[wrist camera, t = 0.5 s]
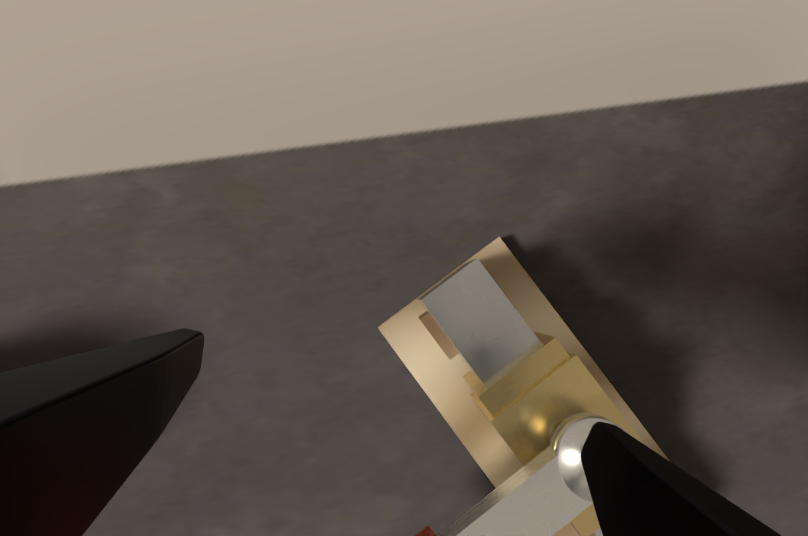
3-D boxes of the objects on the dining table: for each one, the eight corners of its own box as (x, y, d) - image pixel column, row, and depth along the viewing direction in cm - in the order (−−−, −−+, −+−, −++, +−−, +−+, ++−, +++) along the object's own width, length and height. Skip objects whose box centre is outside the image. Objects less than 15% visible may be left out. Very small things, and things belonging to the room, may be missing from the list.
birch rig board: (674, 476, 22) (716, 503, 19) (558, 571, 21) (583, 613, 18) (494, 239, 22) (509, 231, 20) (378, 326, 22) (376, 330, 19)
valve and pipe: (665, 510, 20) (762, 589, 15) (597, 566, 20) (671, 666, 15) (473, 256, 21) (500, 243, 16) (405, 307, 21) (409, 311, 15)
